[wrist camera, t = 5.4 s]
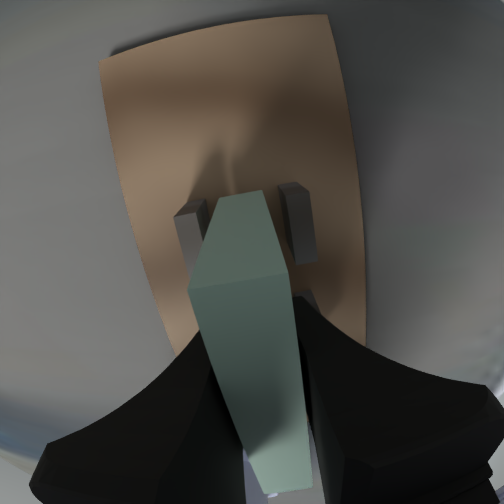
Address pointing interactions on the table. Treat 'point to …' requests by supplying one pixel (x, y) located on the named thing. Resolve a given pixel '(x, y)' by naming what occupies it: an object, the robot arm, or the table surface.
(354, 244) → the rail
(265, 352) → the door panel
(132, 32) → the table surface
